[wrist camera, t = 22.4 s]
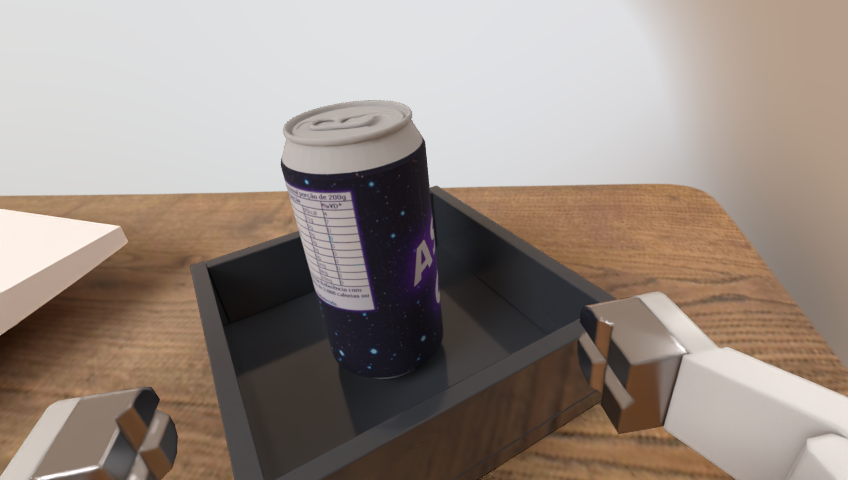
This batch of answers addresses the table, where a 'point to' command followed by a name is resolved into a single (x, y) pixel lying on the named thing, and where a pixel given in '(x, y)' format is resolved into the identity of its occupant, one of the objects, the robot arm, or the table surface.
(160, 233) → the table surface
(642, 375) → the robot arm
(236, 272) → the open box
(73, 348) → the table surface
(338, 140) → the beverage can
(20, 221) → the board
